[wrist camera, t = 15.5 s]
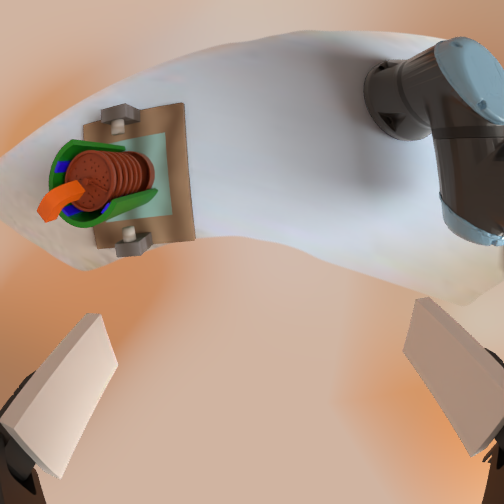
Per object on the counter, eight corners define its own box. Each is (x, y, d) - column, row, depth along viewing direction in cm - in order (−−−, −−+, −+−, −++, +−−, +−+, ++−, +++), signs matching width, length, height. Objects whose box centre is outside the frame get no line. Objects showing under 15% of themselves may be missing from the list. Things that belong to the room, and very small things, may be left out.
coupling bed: (184, 104, 39) (173, 93, 31) (195, 238, 45) (186, 252, 38) (87, 125, 38) (64, 122, 31) (101, 246, 45) (80, 260, 38)
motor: (170, 173, 40) (113, 183, 21) (139, 219, 42) (73, 260, 23) (123, 138, 38) (46, 128, 19) (95, 184, 40) (14, 203, 21)
